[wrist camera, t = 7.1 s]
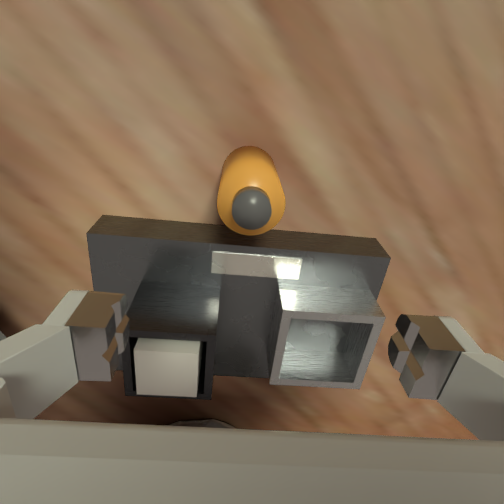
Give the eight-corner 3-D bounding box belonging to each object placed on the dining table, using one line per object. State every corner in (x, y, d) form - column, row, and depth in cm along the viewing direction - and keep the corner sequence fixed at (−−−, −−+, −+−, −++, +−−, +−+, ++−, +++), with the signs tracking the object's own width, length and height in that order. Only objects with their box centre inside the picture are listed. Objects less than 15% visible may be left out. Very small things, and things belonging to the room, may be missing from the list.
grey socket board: (102, 215, 25) (48, 275, 18) (375, 238, 26) (425, 302, 19) (115, 342, 30) (78, 426, 23) (339, 356, 32) (368, 438, 25)
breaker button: (153, 297, 24) (133, 350, 19) (206, 300, 24) (198, 354, 20) (154, 337, 26) (136, 394, 21) (204, 340, 26) (196, 397, 21)
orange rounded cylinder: (224, 143, 23) (217, 172, 17) (279, 148, 23) (292, 180, 17) (220, 195, 24) (213, 240, 18) (271, 200, 25) (282, 246, 18)
